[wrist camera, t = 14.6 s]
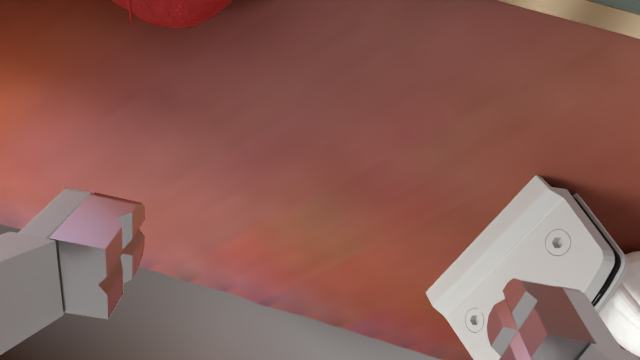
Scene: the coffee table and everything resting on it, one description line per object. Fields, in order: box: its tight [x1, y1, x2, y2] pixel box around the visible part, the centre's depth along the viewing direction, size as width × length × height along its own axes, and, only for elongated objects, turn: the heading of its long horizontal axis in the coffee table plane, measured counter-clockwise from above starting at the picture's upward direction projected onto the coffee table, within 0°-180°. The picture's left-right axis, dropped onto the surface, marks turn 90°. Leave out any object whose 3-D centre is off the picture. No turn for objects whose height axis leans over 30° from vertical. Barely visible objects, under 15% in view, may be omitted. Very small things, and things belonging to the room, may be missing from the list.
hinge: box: [426, 175, 629, 360], centre depth 38 cm, size 17×5×10 cm, turn 152°
